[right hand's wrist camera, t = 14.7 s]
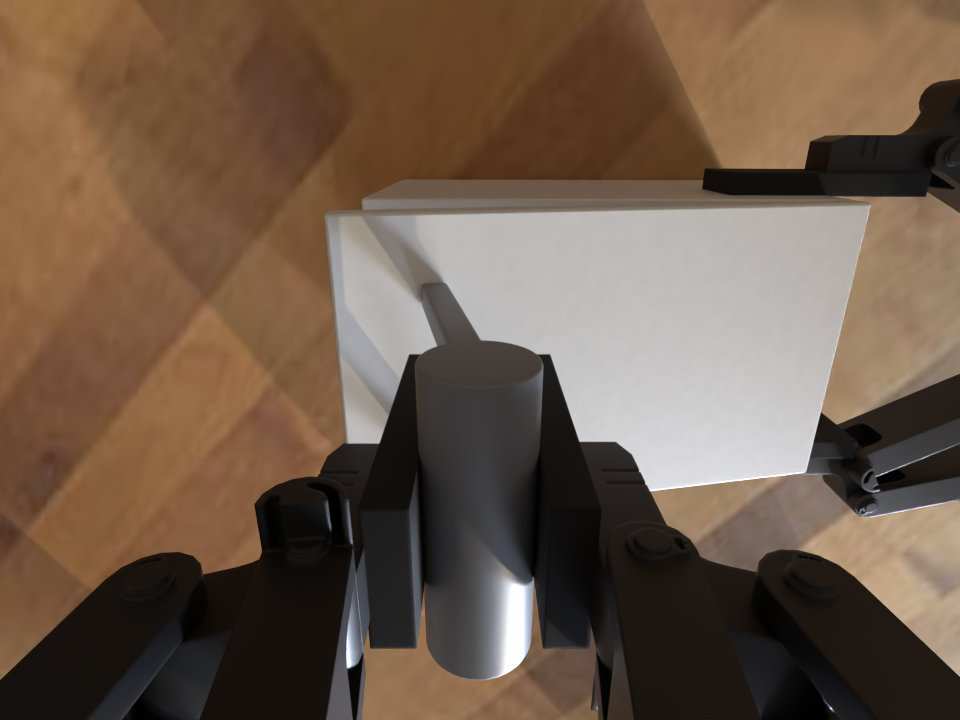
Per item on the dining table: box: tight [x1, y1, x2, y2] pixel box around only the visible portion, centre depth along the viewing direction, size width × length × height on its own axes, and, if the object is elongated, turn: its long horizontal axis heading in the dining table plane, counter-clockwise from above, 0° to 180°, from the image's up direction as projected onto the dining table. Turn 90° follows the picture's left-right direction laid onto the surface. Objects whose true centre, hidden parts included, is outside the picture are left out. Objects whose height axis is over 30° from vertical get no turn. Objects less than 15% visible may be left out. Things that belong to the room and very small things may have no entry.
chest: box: [361, 179, 849, 210], centre depth 24 cm, size 15×9×10 cm, turn 90°
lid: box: [324, 200, 871, 680], centre depth 14 cm, size 16×9×8 cm, turn 89°
